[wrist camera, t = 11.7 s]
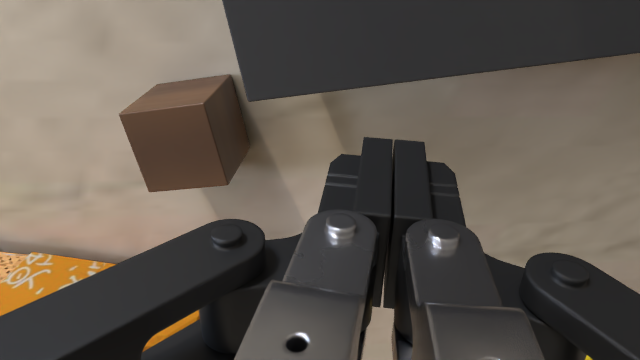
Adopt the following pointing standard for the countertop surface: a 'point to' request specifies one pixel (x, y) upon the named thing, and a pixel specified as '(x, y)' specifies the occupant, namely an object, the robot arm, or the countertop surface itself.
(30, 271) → the device
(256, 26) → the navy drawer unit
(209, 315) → the robot arm
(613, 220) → the countertop surface
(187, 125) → the block
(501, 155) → the countertop surface
